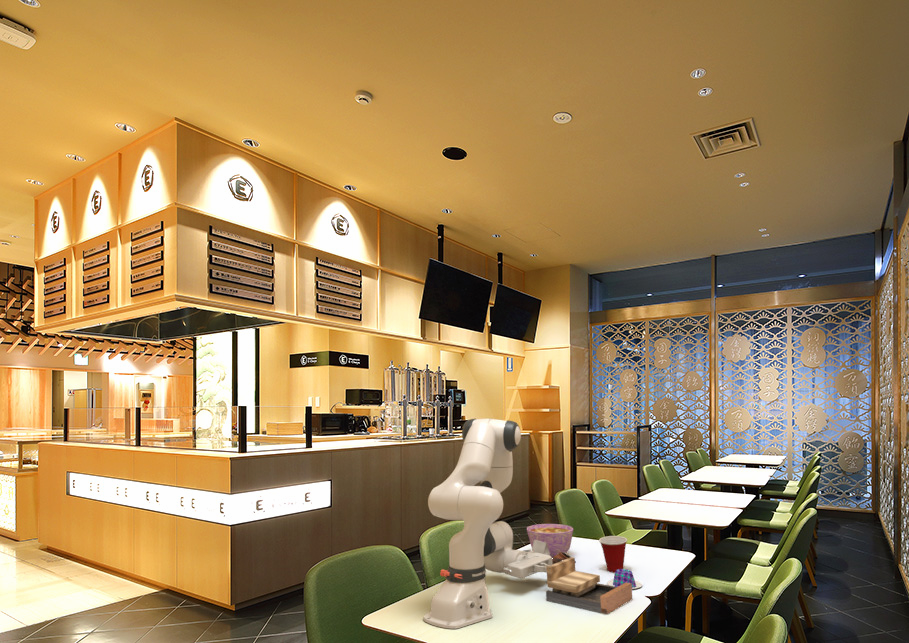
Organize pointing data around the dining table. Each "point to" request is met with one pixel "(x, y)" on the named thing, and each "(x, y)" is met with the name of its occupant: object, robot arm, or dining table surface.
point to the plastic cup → (613, 551)
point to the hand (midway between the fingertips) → (549, 569)
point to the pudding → (624, 579)
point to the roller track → (595, 598)
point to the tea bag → (540, 547)
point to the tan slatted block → (570, 578)
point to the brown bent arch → (560, 557)
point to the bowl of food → (552, 536)
